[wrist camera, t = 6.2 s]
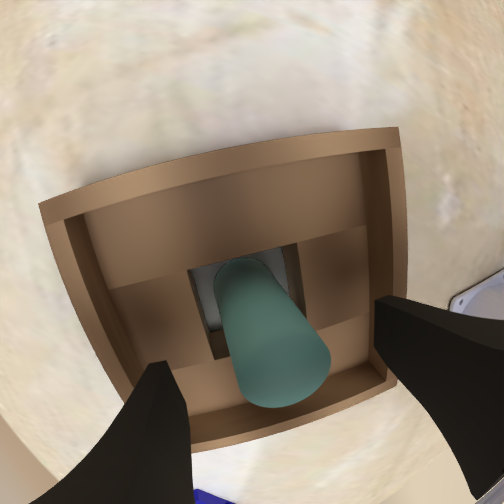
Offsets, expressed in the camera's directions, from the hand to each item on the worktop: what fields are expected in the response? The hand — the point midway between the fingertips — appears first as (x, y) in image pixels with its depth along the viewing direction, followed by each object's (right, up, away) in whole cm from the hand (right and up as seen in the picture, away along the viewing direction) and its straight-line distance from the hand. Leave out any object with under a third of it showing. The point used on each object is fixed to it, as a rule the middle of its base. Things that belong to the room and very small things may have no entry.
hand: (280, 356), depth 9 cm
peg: (-1, +2, +6) cm, 6 cm away
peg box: (-1, +2, +6) cm, 6 cm away
